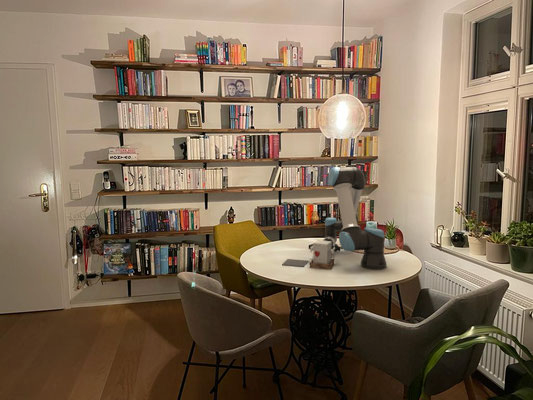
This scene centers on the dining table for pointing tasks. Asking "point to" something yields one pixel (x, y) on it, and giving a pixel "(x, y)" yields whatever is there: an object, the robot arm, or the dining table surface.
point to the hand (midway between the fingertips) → (321, 250)
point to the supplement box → (322, 252)
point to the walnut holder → (322, 265)
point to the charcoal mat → (295, 262)
